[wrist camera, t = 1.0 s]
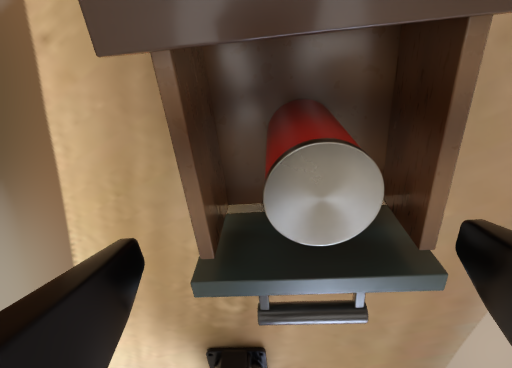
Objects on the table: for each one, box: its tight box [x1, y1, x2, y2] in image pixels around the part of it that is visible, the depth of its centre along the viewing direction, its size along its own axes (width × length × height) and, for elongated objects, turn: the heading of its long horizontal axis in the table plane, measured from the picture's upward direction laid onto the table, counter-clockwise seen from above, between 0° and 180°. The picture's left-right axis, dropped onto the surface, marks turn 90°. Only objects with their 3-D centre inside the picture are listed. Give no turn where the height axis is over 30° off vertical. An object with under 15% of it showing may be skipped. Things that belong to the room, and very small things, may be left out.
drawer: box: [150, 14, 493, 325], centre depth 16 cm, size 20×14×7 cm
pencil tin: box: [263, 99, 384, 246], centre depth 14 cm, size 4×4×8 cm
